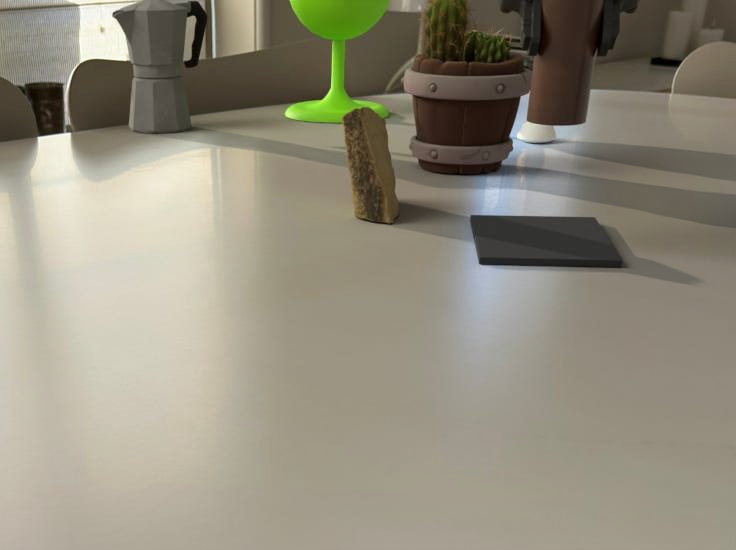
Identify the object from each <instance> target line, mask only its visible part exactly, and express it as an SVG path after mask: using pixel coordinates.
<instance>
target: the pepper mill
mask: <svg viewBox="0 0 736 550" xmlns="http://www.w3.org/2000/svg"><path fill="white" fill-rule="evenodd" d="M603 6H604V0H542V8H541V36H540V44H539V48H538V52H537V56H533V64H532V70H531V73H532V79H531V87H530V92H529V97H528V105H527V112H526V122H527V121H528V122H530V123H534V124H540V125H551V126H554V127H555V126H556V127H567V126H568V127H569V126H579V125H583V124H585V123H586V122H587V116H588V109H589V104H590V97H591V91H592V84H593V78H594V70H595V64H596V58H597V45H598V39H599V32H600V25H601V19H602V12H603Z"/></svg>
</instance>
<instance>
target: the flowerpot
mask: <svg viewBox="0 0 736 550" xmlns="http://www.w3.org/2000/svg"><path fill="white" fill-rule="evenodd" d="M473 1H474V0H426V1H425V2H424V5H426V4H427V5H426V7H424V8H423V7H421V9H422V10H418V11H417V12H419V13H420V12H421V13H420V14H421V15H420V17H421V18H419V19H418V21H420V20H421V21H420V23H421V25H420V28H421V29H422V30H420V31H418V32H417V34H419V33H420V34H419V35H418V36H417V37H419V38H420V39H421V40H420V42H419V43H421V42H422V43H421V44H420V45H421V47H422V48H423V49H422V50H421V52H422V53H418V54H416V55H415V56H414V59H413V64H412V66H410V67H408V68H406V69H405V71H404V76H402V78H400V83H401V84H402V85H403V90H404V92H405V93H406V94H409V95H412V109H413V115H414V116H413V117H414V124H415V133H416V134H414V135H413V136H411V138H410V139H409V140H410V143H409V144H408V148H409V150H411V154H412V156H413V157H414V158H416V159H417V160H418V161H417V162H418V165H419V167H421V168H422V169H424V170H426V171H428V172H433V173H439V174H440V173H441V174H458V173H459V175H479V174H481V173H482V174H483V173H485V174H487V173H490V172H492V171H493V170H495V171H496V170H499V169H501V167H502V164H503V161H504V160H507V158H508V157H509V156H510V153H512V152H514V151H513V150H514V146H513V145H514V140H513V138H511V137H510V135H511V132H512V130H513V128H514V125H515V122H516V118H517V115H518V111H519V108H520V103H521V98H522V97H523V96H525V95H528V94H530V87H531V79H532V70H531V69H528V68H526V67H525V59H524V56H523V55H522V54H520V53H511V45H510V44H511V41H512V38H510V40H509V41H508V40H507V38H508V37H509V36H512V35H513V36H514V34H513V33H512V34H511V33H510V34H506V32H505V33H503V36H501V35H498V34H499V33H500V32H501V31H503V30H507V28H505V27H504V28H501V29H499V30H497V31H495V29H496V27H493V28H491V29H490V28H487V29H488V31H487V32H486V31H485V32H484V31H482V30H483V29H485V24H484V22H482V23H481V24H480V25H478V23H479V22H480V18H478V19H477V21H475V19H470V16H469V15H471V16H473V15H472V12H471V11H474V12H476V10H475V9H470V8H471V7H472V5H471V4H472V3H471V2H473ZM468 14H469V15H468ZM471 22H472V23H471ZM423 25H424V26H423ZM489 29H490V30H489ZM492 29H493V30H492ZM489 33H490V34H489ZM505 34H506V35H505ZM423 44H426V46H425V45H423Z"/></svg>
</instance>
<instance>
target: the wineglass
mask: <svg viewBox="0 0 736 550" xmlns="http://www.w3.org/2000/svg"><path fill="white" fill-rule="evenodd" d="M391 1H392V0H289V3H290V6H291V9H292V11H293V12H294V14H295V16H296V17H297V18H298V21H300V23H301V24H302V25H303V26H304V27H305V28H307V29H308V30H309V31H310V32H311V33H313V34H314V35H317V36H318V37H320V38H323V39H325V40H332V41H331V43H332V46H331V82H330V89H329V91H328V92H327V94H326V95H325V96H324V97H323V98H322V99H319V100H308V101H301V102H297V103H294V104H292V105H290V106H289V107H288V108H287V109H286V110H285V113H284V117H286V118H287V119H291V120H296V121H302V122H310V123H329V124H330V123H331V124H332V123H333V124H339V123H340V124H342V117H343V116H344V115H345V114H347V113H348V112H351V111H352V110H354V109H356V108H358V109H361V108H362V107H369V108H371V109H372V110H373V111H374V112H375V113H377V114H379V116H380V117H381V118H382V119H385V118H388V117H389V116H390V114H389V110H388V109H387V108H386V107H385V105H382V104H381V103H377V102H373V101H368V100H366V101H365V100H358V99H352V98H351V97H350V96H349V95H348V93H347V91H346V89H345V59H346V40H352V39H354V38H356V37H359V36H361V35H363V34H365V33H367V32H368V31H369V30H370V29H372V28H373V27H374V26H375V25H376V24H377V23H378V22H379V21H380V20H381V18H382V17H383V15H384V14H385V13H386V11H387V10H388V8H389V6H390V3H391Z"/></svg>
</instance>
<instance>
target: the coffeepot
mask: <svg viewBox="0 0 736 550" xmlns="http://www.w3.org/2000/svg"><path fill="white" fill-rule="evenodd" d="M111 16H112V18H113V19H115V20H116V22H117V23H118V24H119V26H120V28H121V30H122V32H123V33H124V35H125V41H126V46H127V51H128V57H129V61H130V63H131V64H132V68H133V76H134V77H133V79H131V80H132V81H131V92H130V103H129V104H130V107H129V118H128V127H129V129H130V130H131V131H132V132H136V133H142V134H173V133H181V132H185V131H188V130H190V129H191V128H192V127H193V125H192V119H191V115H190V108H189V103H188V98H187V94H186V87H185V83H184V79H183V77H182V76H181V75H182V69H181V63H183V65H184V67H185V68H186V69H193V68H196V67H197V66H198V64H199V60H200V56H201V51H202V47H203V42H204V38H205V37H204V36H205V32H206V28H207V24H208V14H207V12H206V10H205V9H204V8H203V6H202V4H201V3H200V1H198V0H188V1H184V2H183V1H181V2H175V3H174V2H170V1H168V0H140V1H137V2H135V3H132V4H129V5H125V6H123V7H120V9H116V10H115V11H113V12H112V14H111ZM190 17H194V18H195V24H194V29H193V31H194V32H193V40H192V43H191V47H190V48H191V57H190V59H188V60H184V55H185V45H186V44H185V43H186V35H187V34H186V33H187V22H188V18H190Z"/></svg>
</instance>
